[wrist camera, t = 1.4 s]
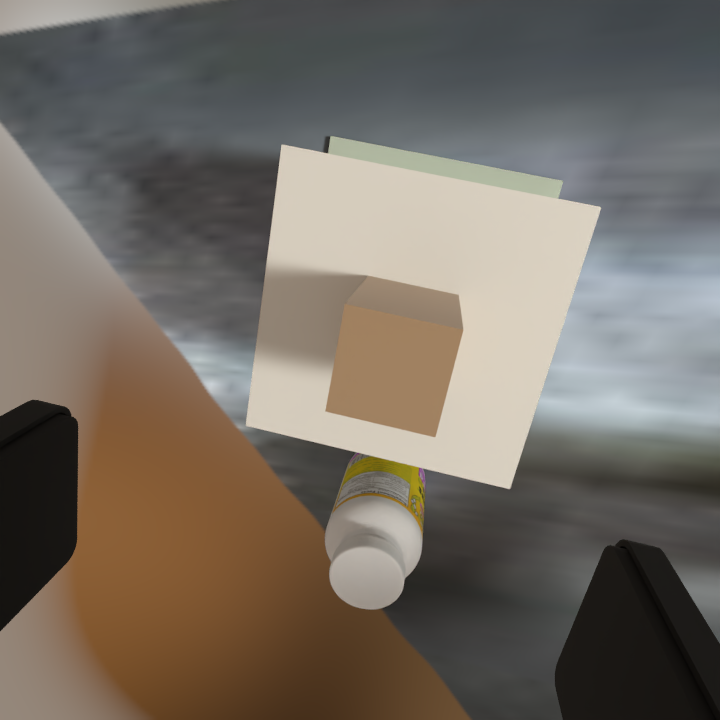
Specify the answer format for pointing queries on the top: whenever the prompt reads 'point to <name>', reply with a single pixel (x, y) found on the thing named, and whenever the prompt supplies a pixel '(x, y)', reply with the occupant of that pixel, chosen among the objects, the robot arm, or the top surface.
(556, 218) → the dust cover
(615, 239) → the top surface
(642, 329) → the top surface
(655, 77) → the top surface
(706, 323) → the top surface
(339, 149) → the mat
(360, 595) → the supplement bottle
